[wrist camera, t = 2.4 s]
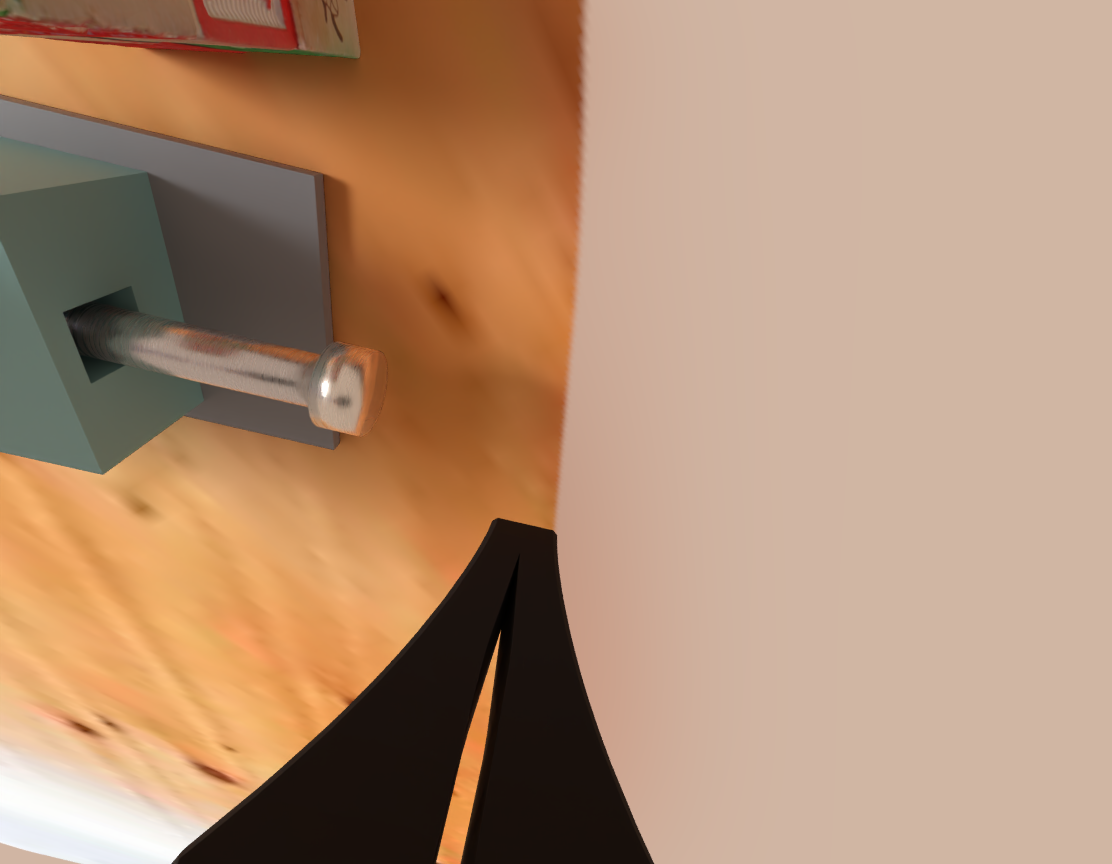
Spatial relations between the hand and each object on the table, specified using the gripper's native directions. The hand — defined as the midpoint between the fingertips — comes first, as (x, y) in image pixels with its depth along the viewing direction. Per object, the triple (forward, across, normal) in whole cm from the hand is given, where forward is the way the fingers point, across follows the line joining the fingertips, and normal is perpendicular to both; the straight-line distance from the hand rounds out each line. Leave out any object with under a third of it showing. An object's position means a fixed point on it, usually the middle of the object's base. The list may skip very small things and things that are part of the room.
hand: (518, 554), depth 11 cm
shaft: (+6, +11, 0) cm, 12 cm away
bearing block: (+8, +14, 0) cm, 16 cm away
